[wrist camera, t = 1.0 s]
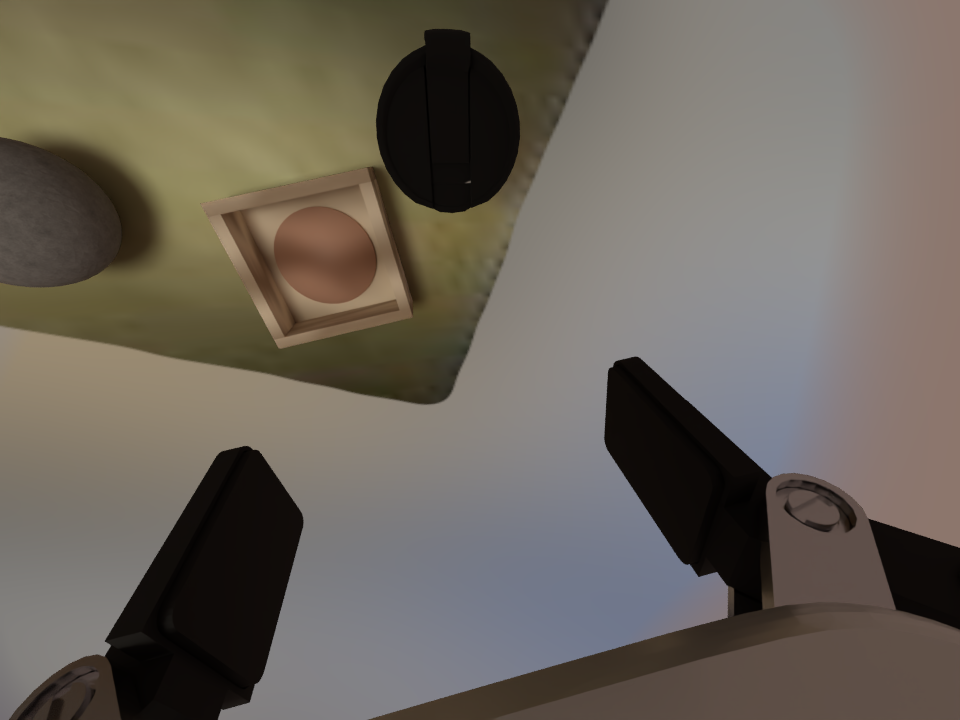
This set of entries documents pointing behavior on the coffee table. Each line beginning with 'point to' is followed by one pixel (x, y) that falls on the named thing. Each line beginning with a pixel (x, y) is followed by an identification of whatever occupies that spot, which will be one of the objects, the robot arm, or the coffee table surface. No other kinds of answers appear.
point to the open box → (315, 256)
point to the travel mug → (448, 124)
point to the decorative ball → (51, 220)
